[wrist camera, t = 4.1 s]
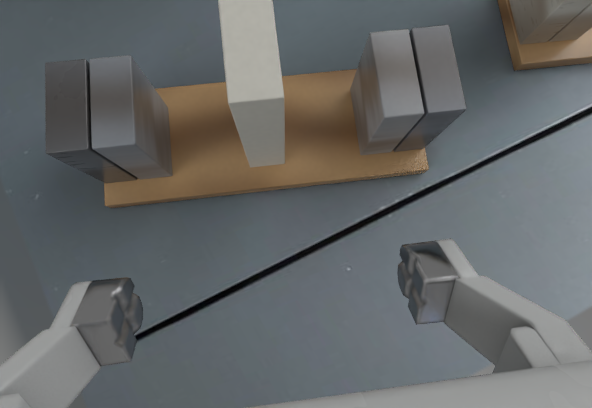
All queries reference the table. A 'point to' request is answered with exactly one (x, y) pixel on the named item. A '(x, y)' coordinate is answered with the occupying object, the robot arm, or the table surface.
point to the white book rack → (547, 32)
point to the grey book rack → (223, 132)
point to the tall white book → (254, 78)
